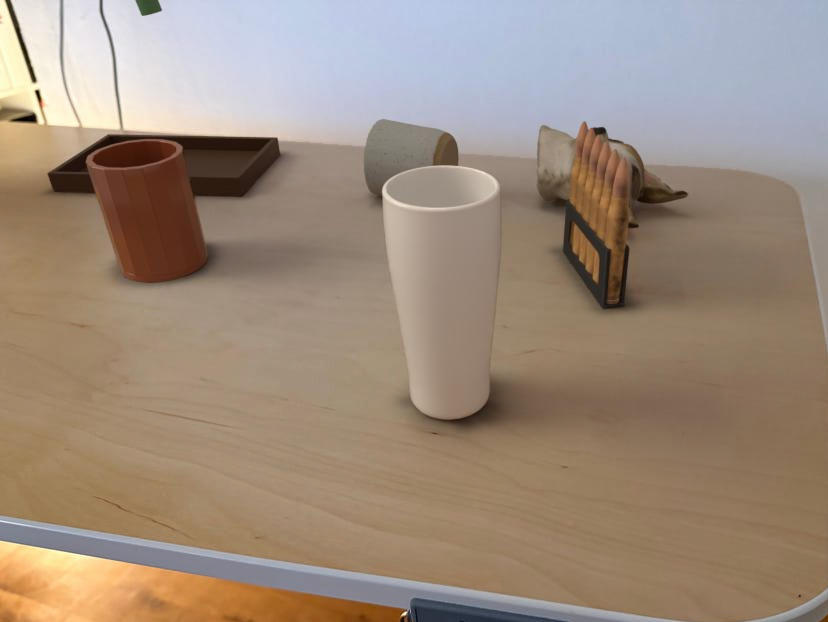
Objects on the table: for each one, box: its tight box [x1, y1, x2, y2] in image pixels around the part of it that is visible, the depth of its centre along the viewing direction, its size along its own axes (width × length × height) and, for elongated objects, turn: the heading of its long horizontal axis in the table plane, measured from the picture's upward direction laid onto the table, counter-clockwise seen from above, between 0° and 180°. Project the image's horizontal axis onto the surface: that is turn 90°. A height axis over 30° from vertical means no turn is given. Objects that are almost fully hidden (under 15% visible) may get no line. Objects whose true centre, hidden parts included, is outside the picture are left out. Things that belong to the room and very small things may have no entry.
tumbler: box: [86, 139, 209, 283], centre depth 64 cm, size 7×7×10 cm
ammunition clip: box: [562, 120, 631, 309], centre depth 61 cm, size 11×2×12 cm, turn 12°
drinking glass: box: [381, 165, 503, 421], centre depth 46 cm, size 7×7×15 cm
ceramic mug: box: [363, 118, 460, 196], centre depth 78 cm, size 11×8×8 cm
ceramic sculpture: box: [536, 124, 689, 229], centre depth 73 cm, size 11×9×15 cm
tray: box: [47, 133, 281, 197], centre depth 85 cm, size 13×21×2 cm, turn 85°
